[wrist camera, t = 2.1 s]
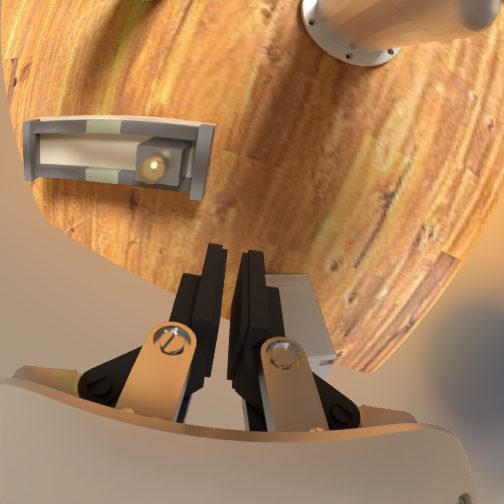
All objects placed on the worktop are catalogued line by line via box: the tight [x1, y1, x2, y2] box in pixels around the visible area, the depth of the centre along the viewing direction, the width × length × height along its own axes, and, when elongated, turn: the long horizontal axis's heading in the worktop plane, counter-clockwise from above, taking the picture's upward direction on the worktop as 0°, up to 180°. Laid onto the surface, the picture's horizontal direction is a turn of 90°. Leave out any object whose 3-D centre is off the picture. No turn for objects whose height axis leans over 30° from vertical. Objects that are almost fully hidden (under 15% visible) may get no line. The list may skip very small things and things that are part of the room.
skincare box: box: [265, 274, 336, 381], centre depth 34 cm, size 8×7×16 cm
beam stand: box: [23, 115, 217, 201], centre depth 26 cm, size 7×22×8 cm, turn 79°
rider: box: [135, 138, 192, 186], centre depth 23 cm, size 3×4×6 cm
